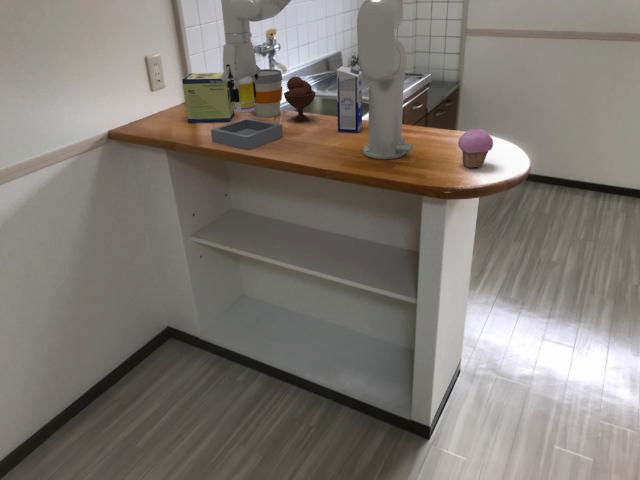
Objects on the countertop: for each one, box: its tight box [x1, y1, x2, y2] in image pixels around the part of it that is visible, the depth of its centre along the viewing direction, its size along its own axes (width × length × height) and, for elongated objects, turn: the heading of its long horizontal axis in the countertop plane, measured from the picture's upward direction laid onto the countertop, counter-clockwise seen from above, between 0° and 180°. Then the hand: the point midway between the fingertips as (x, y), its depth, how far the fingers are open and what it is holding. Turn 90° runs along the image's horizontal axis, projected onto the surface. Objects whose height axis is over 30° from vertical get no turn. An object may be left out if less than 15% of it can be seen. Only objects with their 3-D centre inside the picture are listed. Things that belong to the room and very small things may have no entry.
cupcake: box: [457, 128, 494, 169], centre depth 144 cm, size 9×9×10 cm
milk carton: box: [336, 65, 363, 134], centre depth 175 cm, size 7×7×20 cm
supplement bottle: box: [232, 72, 255, 114], centre depth 167 cm, size 7×7×13 cm
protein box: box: [181, 72, 235, 124], centre depth 194 cm, size 10×16×16 cm
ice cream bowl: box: [283, 76, 317, 123], centre depth 189 cm, size 11×11×15 cm
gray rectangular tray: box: [210, 117, 284, 151], centre depth 173 cm, size 16×16×4 cm
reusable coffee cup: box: [254, 68, 283, 118], centre depth 198 cm, size 13×13×15 cm
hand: (243, 98), depth 168 cm, fingers closed on supplement bottle, 6 cm apart
